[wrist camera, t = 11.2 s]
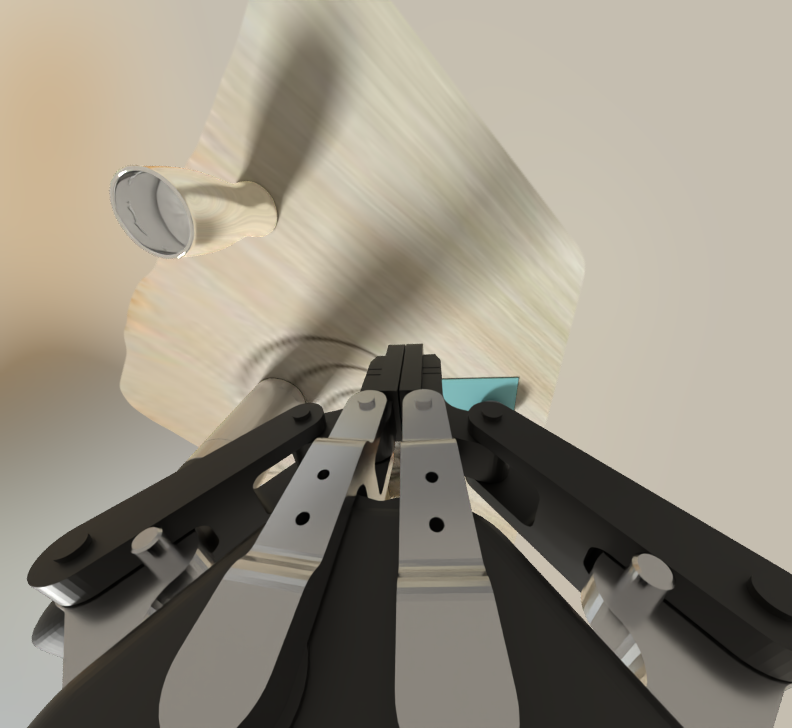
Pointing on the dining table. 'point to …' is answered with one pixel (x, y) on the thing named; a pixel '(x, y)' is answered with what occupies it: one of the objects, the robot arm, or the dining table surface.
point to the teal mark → (479, 391)
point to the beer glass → (187, 210)
